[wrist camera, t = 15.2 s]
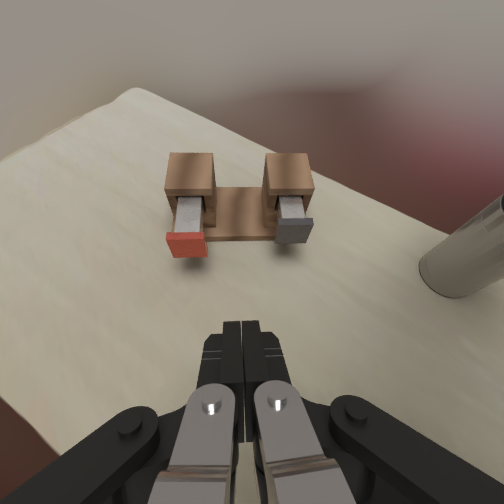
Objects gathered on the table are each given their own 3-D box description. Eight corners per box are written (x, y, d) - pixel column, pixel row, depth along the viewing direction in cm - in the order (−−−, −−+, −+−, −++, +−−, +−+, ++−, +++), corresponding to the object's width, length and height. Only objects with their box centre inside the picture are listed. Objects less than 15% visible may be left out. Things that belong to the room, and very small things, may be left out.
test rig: (297, 192, 56) (310, 145, 46) (305, 239, 50) (323, 198, 40) (178, 192, 54) (165, 144, 44) (172, 241, 48) (155, 199, 38)
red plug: (210, 185, 48) (207, 162, 44) (207, 256, 41) (203, 239, 36) (181, 185, 48) (176, 162, 43) (173, 257, 40) (165, 239, 36)
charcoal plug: (293, 176, 50) (299, 154, 46) (305, 243, 43) (313, 224, 38) (267, 176, 50) (270, 154, 46) (274, 243, 43) (278, 225, 38)
